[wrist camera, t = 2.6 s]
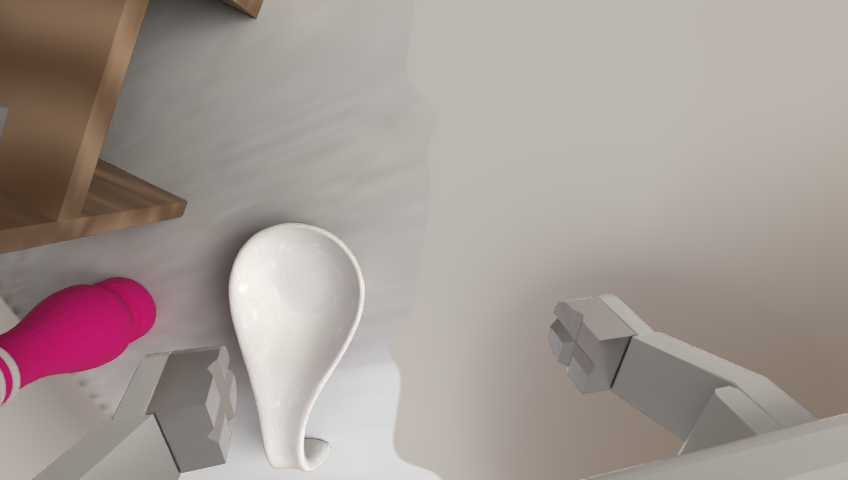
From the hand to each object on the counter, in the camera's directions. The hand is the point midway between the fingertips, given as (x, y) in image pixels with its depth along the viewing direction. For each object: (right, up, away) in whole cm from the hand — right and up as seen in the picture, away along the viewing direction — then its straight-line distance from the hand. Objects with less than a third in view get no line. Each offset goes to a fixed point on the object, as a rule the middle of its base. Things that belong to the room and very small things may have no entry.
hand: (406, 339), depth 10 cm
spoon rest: (-11, -7, +29) cm, 32 cm away
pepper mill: (-28, -4, +29) cm, 41 cm away
